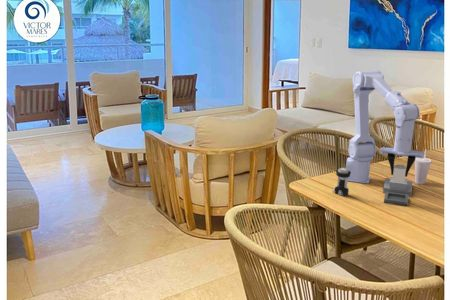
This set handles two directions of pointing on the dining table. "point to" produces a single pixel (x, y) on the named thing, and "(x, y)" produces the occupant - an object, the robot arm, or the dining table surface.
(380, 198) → the dining table surface
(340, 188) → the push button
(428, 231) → the dining table surface
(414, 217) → the dining table surface
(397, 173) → the block
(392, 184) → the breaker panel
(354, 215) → the dining table surface
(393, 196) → the tray
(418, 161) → the smoothie
